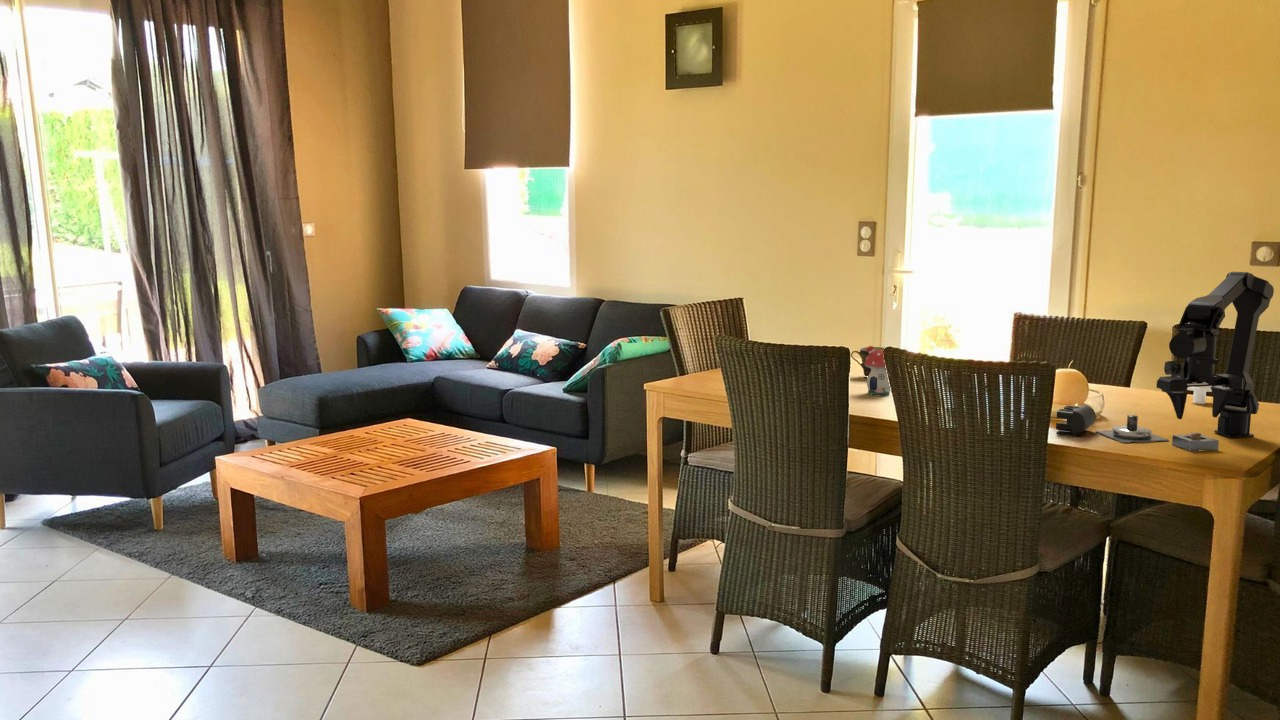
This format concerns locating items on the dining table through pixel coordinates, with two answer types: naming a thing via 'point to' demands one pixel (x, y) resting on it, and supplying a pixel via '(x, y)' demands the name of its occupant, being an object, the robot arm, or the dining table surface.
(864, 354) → the ceramic cup
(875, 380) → the decorative ornament
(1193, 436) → the stand post
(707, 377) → the dining table surface
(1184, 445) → the grey square base
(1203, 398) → the pipe fitting
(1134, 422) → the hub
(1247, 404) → the robot arm
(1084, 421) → the end cap
